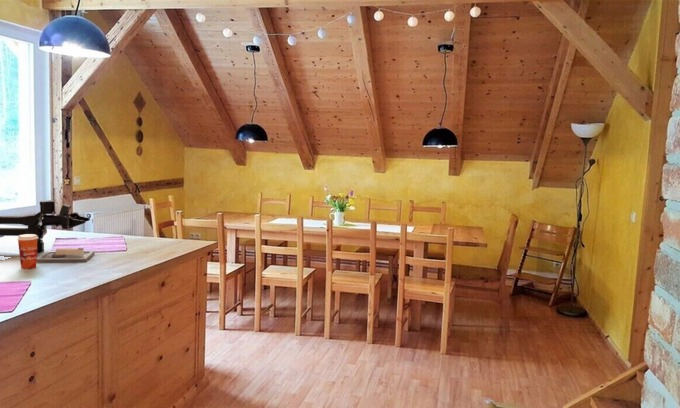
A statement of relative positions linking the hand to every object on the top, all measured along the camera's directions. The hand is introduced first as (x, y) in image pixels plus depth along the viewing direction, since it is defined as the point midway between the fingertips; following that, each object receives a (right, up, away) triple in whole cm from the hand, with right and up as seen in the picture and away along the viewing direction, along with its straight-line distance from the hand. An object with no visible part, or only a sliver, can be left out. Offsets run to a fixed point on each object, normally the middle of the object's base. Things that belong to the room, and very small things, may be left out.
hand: (87, 220), depth 267 cm
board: (-3, -18, -14) cm, 24 cm away
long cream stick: (-2, -17, -16) cm, 23 cm away
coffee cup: (-10, -21, -34) cm, 41 cm away
